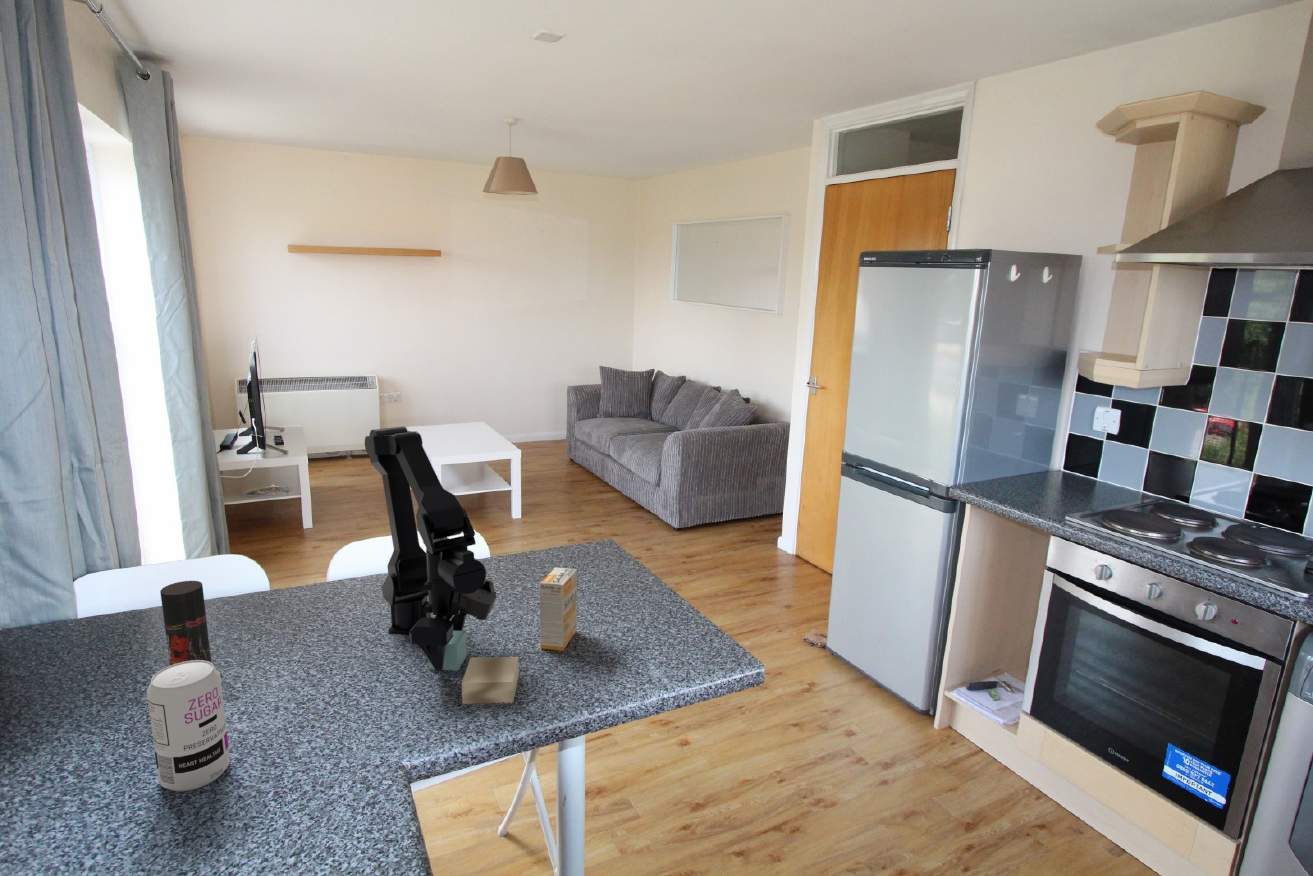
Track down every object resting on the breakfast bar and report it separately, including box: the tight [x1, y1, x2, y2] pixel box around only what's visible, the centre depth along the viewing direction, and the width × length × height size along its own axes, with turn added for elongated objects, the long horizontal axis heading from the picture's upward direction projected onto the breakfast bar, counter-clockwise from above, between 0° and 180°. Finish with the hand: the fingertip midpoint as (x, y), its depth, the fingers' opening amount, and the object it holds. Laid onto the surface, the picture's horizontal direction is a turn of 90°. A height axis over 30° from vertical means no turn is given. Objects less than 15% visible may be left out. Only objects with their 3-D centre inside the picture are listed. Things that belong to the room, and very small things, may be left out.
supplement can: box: [146, 660, 231, 792], centre depth 97 cm, size 8×8×15 cm
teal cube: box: [428, 630, 468, 671], centre depth 128 cm, size 5×5×5 cm
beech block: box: [461, 656, 520, 705], centre depth 119 cm, size 8×8×4 cm
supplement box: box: [539, 567, 578, 652], centre depth 136 cm, size 8×5×13 cm, turn 168°
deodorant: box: [160, 580, 212, 666], centre depth 123 cm, size 6×6×15 cm
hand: (448, 657), depth 128 cm, fingers open, 9 cm apart
